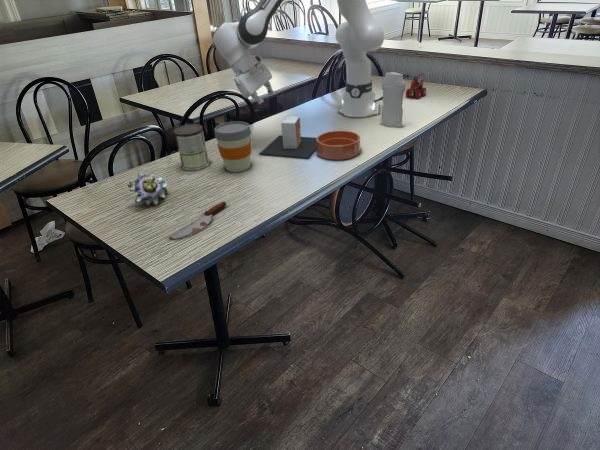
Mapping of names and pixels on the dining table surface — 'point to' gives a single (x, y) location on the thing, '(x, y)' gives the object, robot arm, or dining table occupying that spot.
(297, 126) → the small box
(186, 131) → the coffee can
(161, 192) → the passion flower
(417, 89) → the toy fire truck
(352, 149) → the bowl
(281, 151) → the mat
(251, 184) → the dining table surface
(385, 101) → the tall pale column
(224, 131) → the reusable coffee cup
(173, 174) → the dining table surface
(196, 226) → the kitchen knife
